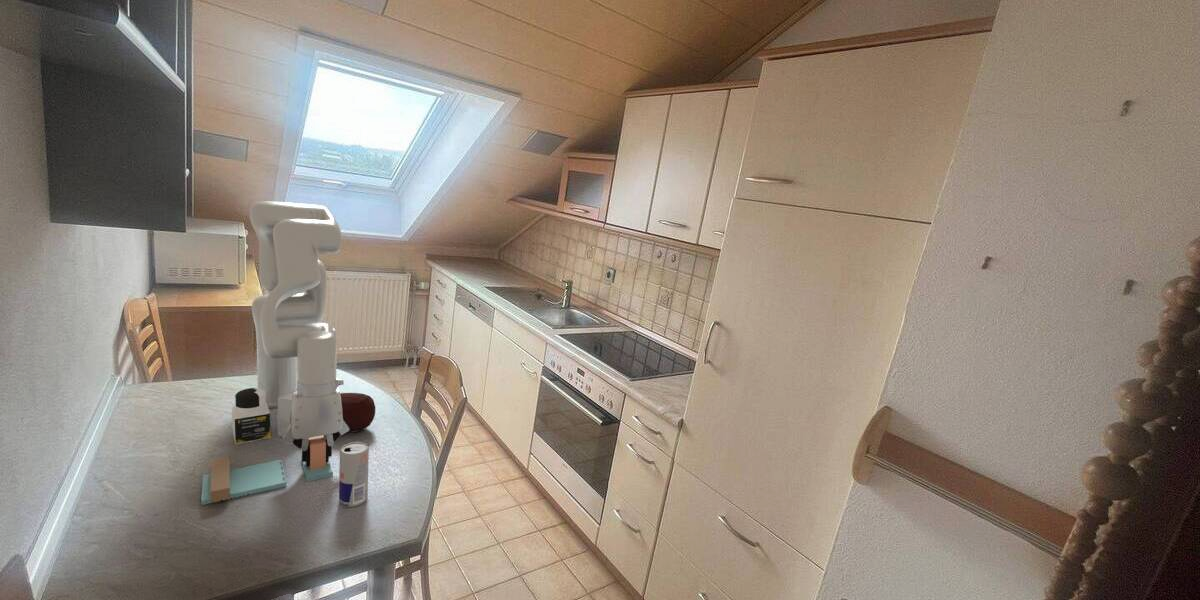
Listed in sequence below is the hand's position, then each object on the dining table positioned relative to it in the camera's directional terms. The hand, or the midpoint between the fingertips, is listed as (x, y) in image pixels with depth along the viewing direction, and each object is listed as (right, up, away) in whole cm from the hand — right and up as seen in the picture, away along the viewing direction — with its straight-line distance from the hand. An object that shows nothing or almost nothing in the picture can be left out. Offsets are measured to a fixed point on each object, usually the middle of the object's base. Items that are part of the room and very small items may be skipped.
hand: (316, 461), depth 110 cm
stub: (0, -2, 0) cm, 2 cm away
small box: (-13, +3, +15) cm, 20 cm away
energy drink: (+13, -5, -9) cm, 17 cm away
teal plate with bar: (-11, -2, -8) cm, 14 cm away
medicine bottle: (-22, +3, +10) cm, 25 cm away
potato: (-2, +2, +19) cm, 19 cm away
